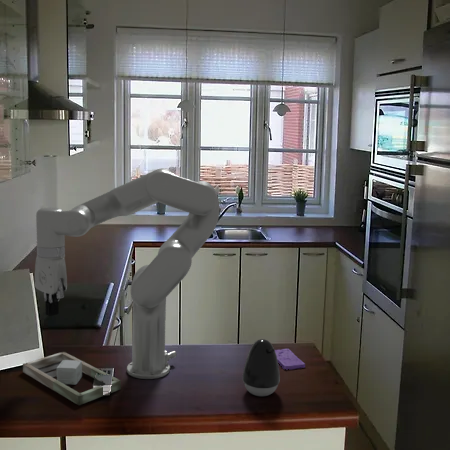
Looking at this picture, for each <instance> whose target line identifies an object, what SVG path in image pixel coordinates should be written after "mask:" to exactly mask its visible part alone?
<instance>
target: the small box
mask: <svg viewBox="0 0 450 450" xmlns="http://www.w3.org/2000/svg"><path fill="white" fill-rule="evenodd" d="M82 361H83V360H81V361H76V360H63V361H62V362H61V363H60V364H59V366H58V367H57V369H56V370H57V377H56V380H58V381H59V382H61V383H63V384H65V385H75V386H76V385H77V384H78V383H79V381H80V380H81V379H82V377H83V372H82Z"/></svg>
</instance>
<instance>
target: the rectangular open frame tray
mask: <svg viewBox="0 0 450 450" xmlns="http://www.w3.org/2000/svg"><path fill="white" fill-rule="evenodd" d="M63 360H76V361H82V374H85V375H87V376H88V377H91V378H92V379H95V378H94V377H95V375H96V373H99V374H103V375H106V374H107V375H110V374H109V373H107V372H105V371H103V370H100V369H99V368H97V367H95V366H93V365H91V364H89V363H87V362H85V361H84V360H82V359H79V358H77V357H75V356H74V355H71V354H69V353H67V352H66V351H61V352H58V353H54V354H52V355H48V356H45V357H41V358H38V359H35V360H30V361H28V362H25V363H22V373H24V374H25V375H27V376H29V377H31V378H32V379H34V380H36V381H37V382H39V383H40V384H42V385H44V386H45V387H47V388H49V389H51V390H52V391H54V392H55V393H58V395H60V396H62V397H64V398H65V399H68V400H69V401H71V402H73V403H74V404H76V405H78V406H82V405H83V404H86V403H88V402H92V401H94V400H97V399H99V398H101V397H104V396H103V387H98V386H96V387H93V388H91V389H88V390H85V391H83V392H78V391H77V390H76V389H74V388H71V387H70V386H69V385H67V384H63V383H61V382H59V381H58V380H57V367H58V366H59V364H60V363H61V362H62V361H63ZM111 376H112V386H111V393H110V394H112V393H114V392H117V391H120V390H121V389H122V388H121V387H122V383H121V381H122V380H121V379H119V378H116V376H115V377H114V376H113V375H111Z"/></svg>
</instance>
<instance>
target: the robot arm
mask: <svg viewBox="0 0 450 450" xmlns="http://www.w3.org/2000/svg"><path fill="white" fill-rule="evenodd" d="M158 203H160V204H162V205H165V206H168V207H170V208H174V209H177V210H180V211H183V212H187V213H188V215H187V216H186V218H185V219H184V221H182V223H181V224H180V225H179V227H178V228H177V229H176V230H175V231H174V233H172V234H171V235H170V236H169V238H168V239H167V240H166V241H165V242H163V243H162V244H161V245H160V248H158V252H157V255H156V256H155V257H154V258H153V259H152V261H151V262H150V263H149V264H146V265H143V266H141V267H140V268H139V269H137V271H136V272H135V273H134V275H133V277H132V281H131V284H130V285H131V286H130V297H131V299H132V329H131V330H132V340H131V341H132V343H131V344H132V346H131V347H132V350H131V354H132V355H131V357H132V358H131V360H132V361H131V362H130V363H128V364H127V366H126V372H127V375H129V376H131V377H133V378H136V379H140V380H141V379H142V380H153V379H160V378H162V377H165V376H166V375H168V374H169V372H171V371H170V370H171V366H170V363H168V362H169V361H170V360H172V359H175V358H176V357H177V354H178V353H177V352H176V351H175V350H173V351H171V352H168V351H167V350H166V316H167V309H166V308H167V297H168V296H169V295H170V294H171V293H172V292H173V290H175V289H176V287H177V286H178V285H179V284H180V283H181V282H182V281H183V279H185V277H186V276H187V275H188V273H189V272H190V269H191V267H192V263H193V262H192V261H193V257H194V256H195V255H196V253H198V251H199V250H200V249H201V248H202V247H203V245H204V244H205V243H206V242H207V240H208V239H210V237H211V235H212V234H213V233H214V231H215V229H216V228H217V227H216V226H217V224H218V221H219V218H220V203H219V197H218V193H217V191H216V189H215V186H213V185H212V183H210V182H207V181H204V180H199V181H194V180H191V179H188V178H185V177H182V176H179V175H177V174H175V173H174V172H173V171H171V170H170V169H167V168H157V169H154V170H153V171H152V170H151V171H150V172H148V173H146V174H144V175H142V176H139V177H137V178H135V179H133V180H130V181H128V182H126V183H124V184H121V185H118V186H117V187H115V188H113V189H111V190H110V191H107V192H106V193H103V194H101V195H99V196H97V197H94V198H91V199H90V200H87V201H85V202H82V203H80V204H78V205H77V206H75V207H73V208H71V209H70V210H63V209H62V208H59V207H42V208H39V209H38V210H37V211H36V215H35V217H36V218H35V221H36V225H35V227H36V258H35V263H34V264H35V265H34V288H36V290H38V291H40V292H41V293H42V294H43V298H44V299H43V300H44V302H45V306H44V307H45V315H46V316H48V317H52V316H56V315H58V314H59V313H60V312H59V301H60V299H63V298H65V294H64V293H65V292H66V291H67V288H68V275H67V266H66V258H65V257H66V254H65V253H66V248H65V247H66V242H65V240H66V239H65V238H66V236H67V237H76V238H77V237H82V236H84V235H86V234H87V233H88V232H89V231H90V229H91V228H94V227H96V226H98V225H100V224H102V223H105V222H107V221H109V220H112V219H114V218H115V219H116V218H117V217H127V216H130V215H133V214H135V213H137V212H140V211H142V210H144V209H146V208H149V207H151V206H153V205H155V204H158Z"/></svg>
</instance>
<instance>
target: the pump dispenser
mask: <svg viewBox="0 0 450 450" xmlns="http://www.w3.org/2000/svg"><path fill="white" fill-rule="evenodd" d="M275 350H276V349H275V348H274V346H273V344H272V343H271V342H270V341H269V340H268V339H265V338H261V339H257V340H256V341H255V342H254V343H253V344H252V346H251V347H250V349H249V351H248V354H247V356H246V359H245V363H244V367H243V371H242V381H243V384H244V387H245V389H246V391H247V392H249V393H250V394H251V395H253V396H256V397H268V396H271V394H273V393H274V392H275V391H276V390H277V389H278V386H279V384H280V383H281V382H280V380H281V375H280V365H279V364H278V360H277V356H276V353H275Z"/></svg>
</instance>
